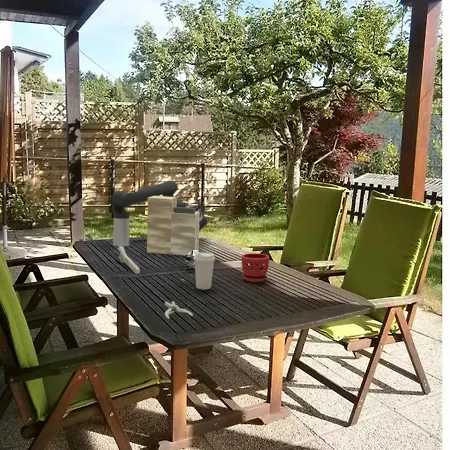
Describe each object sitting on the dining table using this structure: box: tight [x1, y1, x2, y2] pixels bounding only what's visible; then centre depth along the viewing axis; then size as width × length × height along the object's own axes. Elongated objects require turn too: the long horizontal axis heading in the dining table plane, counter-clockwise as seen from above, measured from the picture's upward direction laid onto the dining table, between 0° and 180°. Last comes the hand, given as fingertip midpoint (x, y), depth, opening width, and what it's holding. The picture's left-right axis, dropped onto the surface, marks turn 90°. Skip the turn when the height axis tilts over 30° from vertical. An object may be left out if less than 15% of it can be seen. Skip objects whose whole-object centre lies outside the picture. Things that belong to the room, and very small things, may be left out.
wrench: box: [117, 246, 141, 275], centre depth 237 cm, size 8×2×30 cm
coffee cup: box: [193, 252, 216, 290], centre depth 206 cm, size 10×10×15 cm
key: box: [174, 204, 196, 214], centre depth 275 cm, size 20×12×3 cm, turn 172°
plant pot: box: [241, 252, 270, 283], centre depth 222 cm, size 13×13×12 cm
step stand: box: [146, 195, 200, 256], centre depth 272 cm, size 12×28×32 cm, turn 82°
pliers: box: [164, 300, 194, 320], centre depth 176 cm, size 10×2×15 cm
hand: (191, 204), depth 284 cm, fingers open, 8 cm apart
